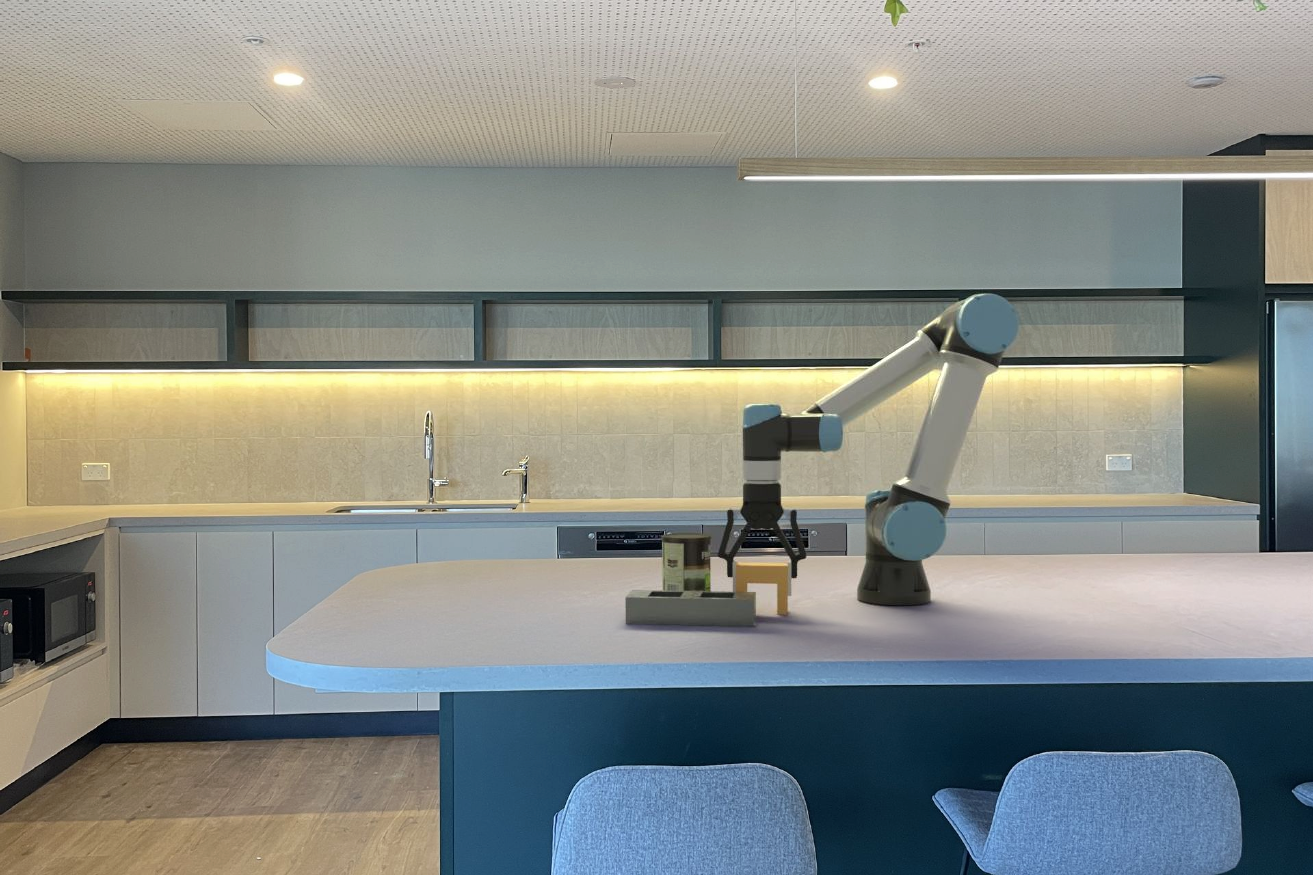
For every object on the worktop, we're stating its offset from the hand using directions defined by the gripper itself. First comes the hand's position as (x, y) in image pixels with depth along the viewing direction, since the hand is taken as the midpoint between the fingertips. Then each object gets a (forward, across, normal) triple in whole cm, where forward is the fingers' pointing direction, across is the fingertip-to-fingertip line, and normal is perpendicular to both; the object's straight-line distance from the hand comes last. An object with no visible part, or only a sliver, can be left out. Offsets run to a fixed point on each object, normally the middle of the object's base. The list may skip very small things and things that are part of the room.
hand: (762, 594), depth 212 cm
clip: (+4, 0, 0) cm, 4 cm away
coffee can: (+4, +16, -9) cm, 19 cm away
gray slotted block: (+4, +13, +10) cm, 17 cm away
